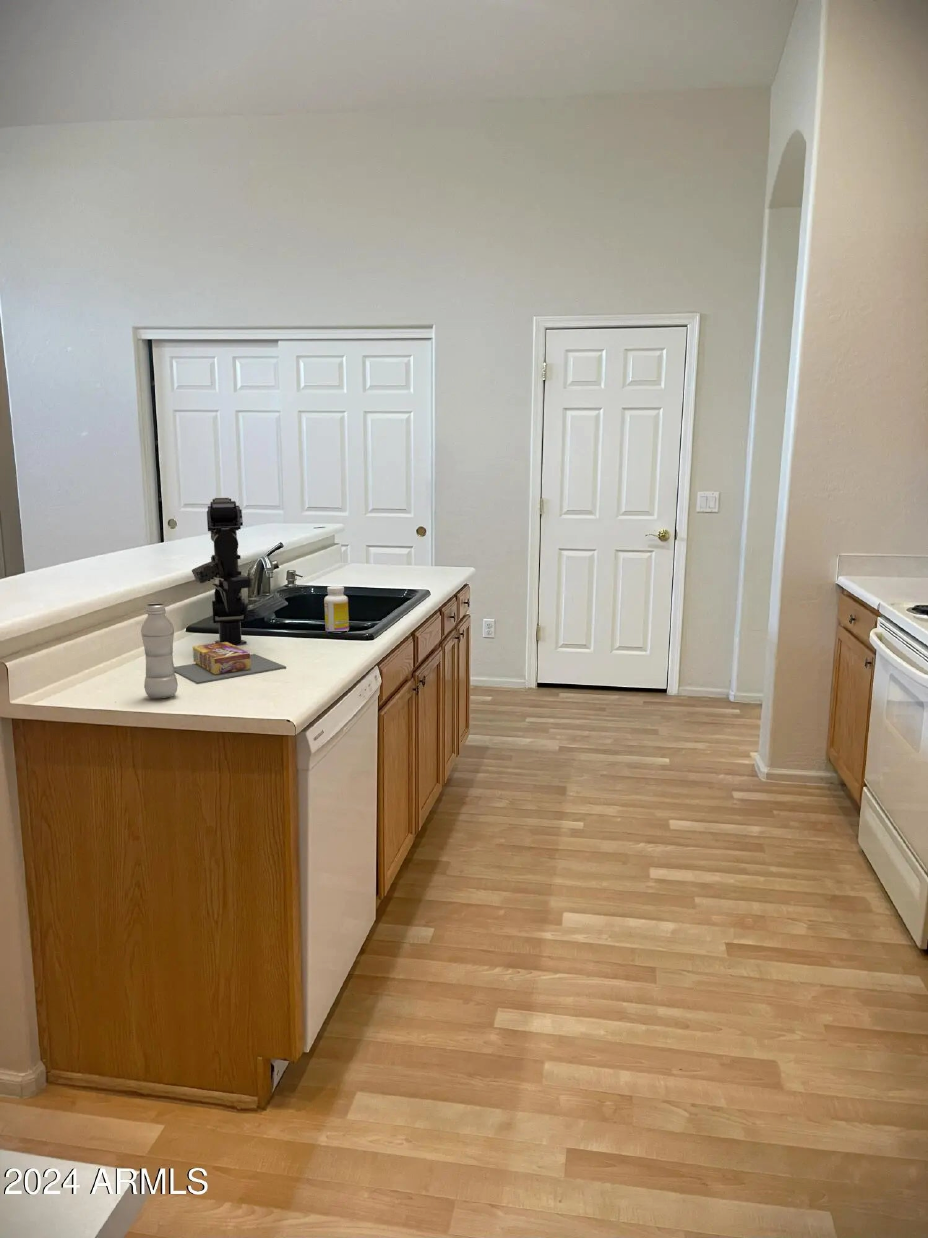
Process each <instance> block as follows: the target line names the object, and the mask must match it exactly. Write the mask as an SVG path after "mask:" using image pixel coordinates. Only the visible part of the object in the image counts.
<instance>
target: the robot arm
mask: <svg viewBox="0 0 928 1238" xmlns="http://www.w3.org/2000/svg"><path fill="white" fill-rule="evenodd" d="M209 504H210V505H208V506H207V510H206V520H207V521H206V523H207V532H210V540H211V541H212V543H213V553H214V554H212V555H211V556H210V561H209V562H206V563H204V564H202V565H199V566H197V567H195V568H193V569H191V573H192V574H193V577H194V580H195V581H196V583H199V584H204V583H206V582H210V581H211V580H214V581H215V583H212V586H213V587H214V600H211V606H212V607H211V608H212V618H213V619H212V621H213V624H218V639H219V640H215V641H214V644H215V643H222V642H228V643H230V644H232V645H234V646H238V645H244V644H247V641H246V640H243V639H242V628H241V627H242V625H241V622H247V621H248V620H249V611H248V610H249V609H248V607H249V606H248V603H247V602H246V600H245V598H243V597H242V596H243V595H242V589H248V588H249V589H250V588H253V580H252V579H251V578H250V577H249V576H247V575H244V574H242V570H239V560H241V559H242V558H241V554H238V551H239V550H238V549H239V541H238V534H237V531H239V530H241V528H242V526H243V527H244V525H243V523H244V522H243V521H244V520H243V511H242V509H241V507H240V505H239V504H238V505H237V501H235V500H232V498H229V497H214V498H212V499H211V501H210V503H209Z"/></svg>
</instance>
